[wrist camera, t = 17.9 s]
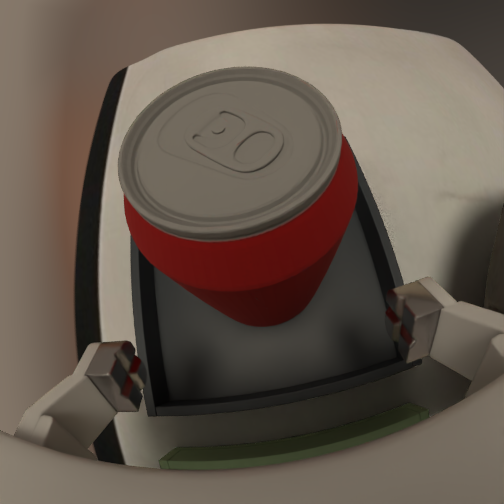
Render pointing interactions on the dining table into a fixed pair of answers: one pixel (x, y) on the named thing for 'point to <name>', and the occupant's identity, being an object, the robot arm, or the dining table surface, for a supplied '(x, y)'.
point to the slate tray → (271, 333)
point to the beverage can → (240, 190)
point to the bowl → (496, 273)
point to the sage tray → (294, 443)
